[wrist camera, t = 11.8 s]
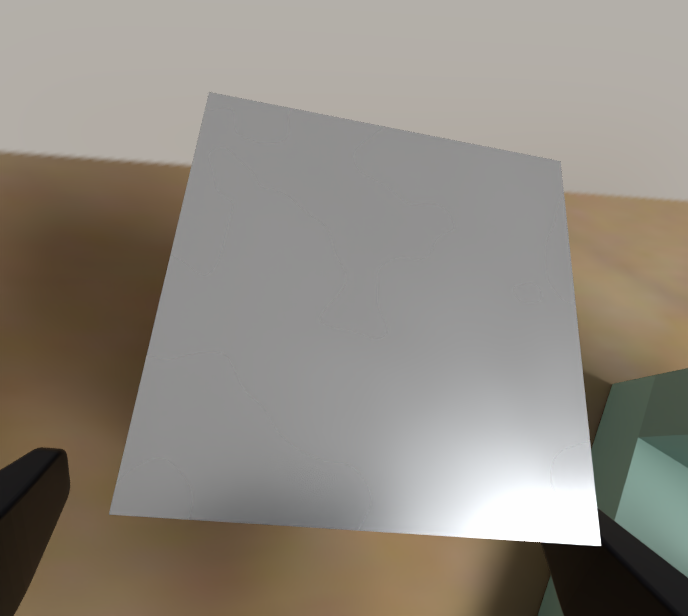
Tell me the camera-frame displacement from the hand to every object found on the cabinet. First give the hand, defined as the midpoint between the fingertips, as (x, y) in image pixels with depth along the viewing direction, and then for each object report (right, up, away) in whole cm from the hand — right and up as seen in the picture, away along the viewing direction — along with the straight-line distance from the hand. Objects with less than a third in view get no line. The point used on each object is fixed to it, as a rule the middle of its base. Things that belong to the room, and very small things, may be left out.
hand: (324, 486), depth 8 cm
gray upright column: (-1, 0, +7) cm, 7 cm away
